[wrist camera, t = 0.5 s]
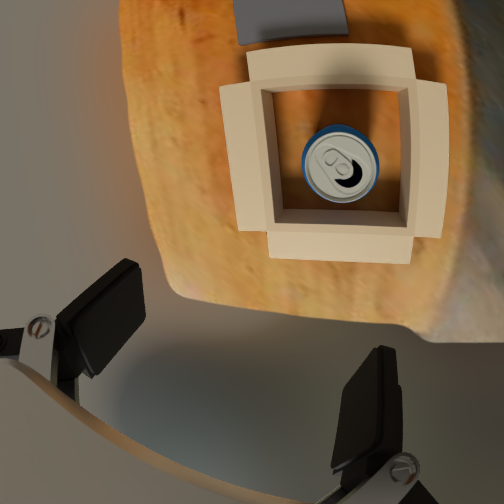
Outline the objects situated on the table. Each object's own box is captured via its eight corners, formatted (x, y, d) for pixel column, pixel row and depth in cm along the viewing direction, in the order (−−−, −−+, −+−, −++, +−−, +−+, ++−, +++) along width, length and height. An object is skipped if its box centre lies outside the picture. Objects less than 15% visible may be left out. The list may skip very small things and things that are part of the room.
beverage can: (343, 187, 31) (344, 223, 21) (302, 153, 31) (283, 172, 21) (377, 148, 28) (398, 166, 18) (334, 112, 27) (333, 109, 17)
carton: (427, 61, 20) (441, 53, 16) (425, 246, 31) (435, 265, 27) (232, 64, 28) (215, 58, 24) (254, 239, 39) (242, 256, 34)
